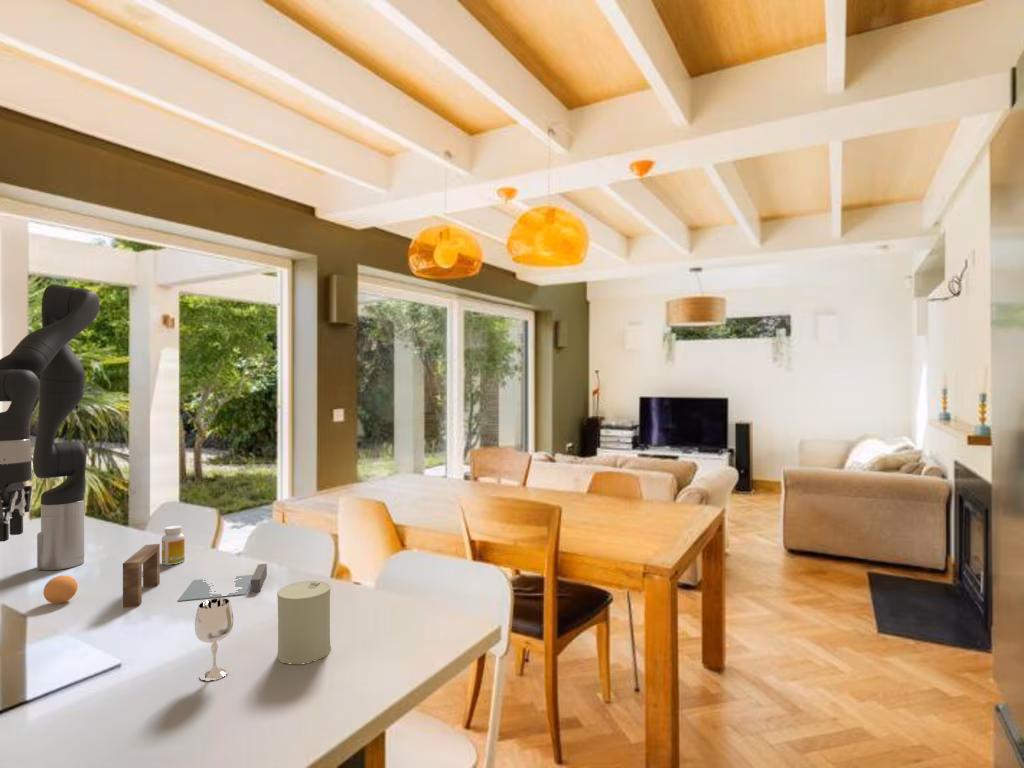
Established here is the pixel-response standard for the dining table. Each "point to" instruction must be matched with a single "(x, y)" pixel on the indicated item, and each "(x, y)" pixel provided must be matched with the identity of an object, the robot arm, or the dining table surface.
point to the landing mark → (201, 591)
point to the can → (303, 622)
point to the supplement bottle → (173, 546)
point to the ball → (60, 589)
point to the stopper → (258, 578)
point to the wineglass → (214, 628)
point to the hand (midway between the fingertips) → (9, 537)
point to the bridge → (140, 574)
